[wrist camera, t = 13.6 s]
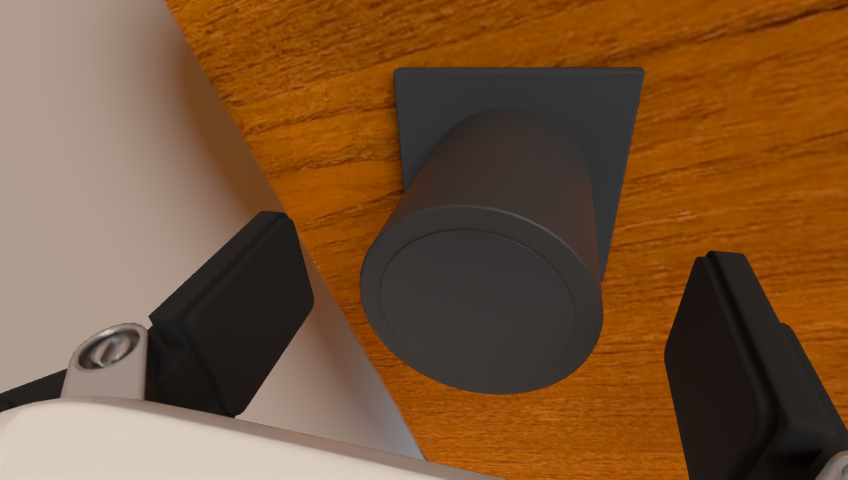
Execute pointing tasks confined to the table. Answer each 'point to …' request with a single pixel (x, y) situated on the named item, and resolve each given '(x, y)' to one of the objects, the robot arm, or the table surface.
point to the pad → (537, 92)
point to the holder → (491, 259)
